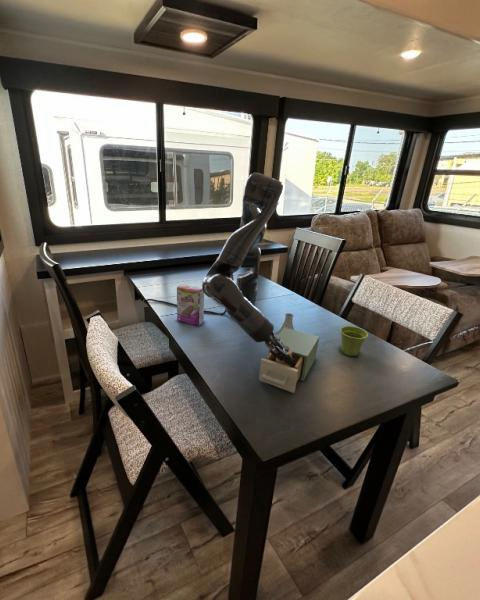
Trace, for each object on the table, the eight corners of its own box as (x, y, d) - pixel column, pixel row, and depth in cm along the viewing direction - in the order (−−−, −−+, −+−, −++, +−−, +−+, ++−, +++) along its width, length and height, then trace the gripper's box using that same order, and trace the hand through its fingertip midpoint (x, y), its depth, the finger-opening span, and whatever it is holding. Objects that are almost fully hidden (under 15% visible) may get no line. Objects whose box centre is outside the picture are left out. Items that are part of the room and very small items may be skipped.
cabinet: (303, 381, 101) (307, 356, 97) (267, 368, 107) (269, 344, 103) (314, 359, 112) (319, 336, 109) (281, 349, 118) (284, 327, 115)
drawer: (288, 402, 90) (292, 380, 87) (252, 388, 96) (254, 367, 93) (306, 370, 105) (309, 351, 102) (274, 360, 110) (276, 341, 107)
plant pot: (361, 361, 112) (366, 341, 108) (333, 353, 116) (338, 333, 113) (364, 350, 119) (369, 330, 116) (338, 343, 124) (343, 323, 120)
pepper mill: (272, 372, 99) (275, 348, 95) (277, 365, 102) (280, 342, 99) (286, 377, 97) (290, 353, 93) (291, 370, 100) (294, 346, 97)
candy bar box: (176, 321, 138) (175, 287, 132) (182, 316, 143) (181, 283, 136) (199, 326, 134) (199, 291, 128) (204, 322, 138) (204, 287, 132)
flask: (285, 342, 123) (288, 320, 119) (273, 334, 129) (276, 312, 125) (299, 338, 126) (302, 316, 122) (287, 330, 132) (290, 309, 128)
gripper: (268, 327, 85) (306, 364, 90) (260, 305, 98) (293, 339, 103) (248, 343, 87) (285, 379, 92) (242, 320, 100) (275, 352, 105)
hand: (289, 358), depth 97 cm, fingers closed on pepper mill, 4 cm apart
